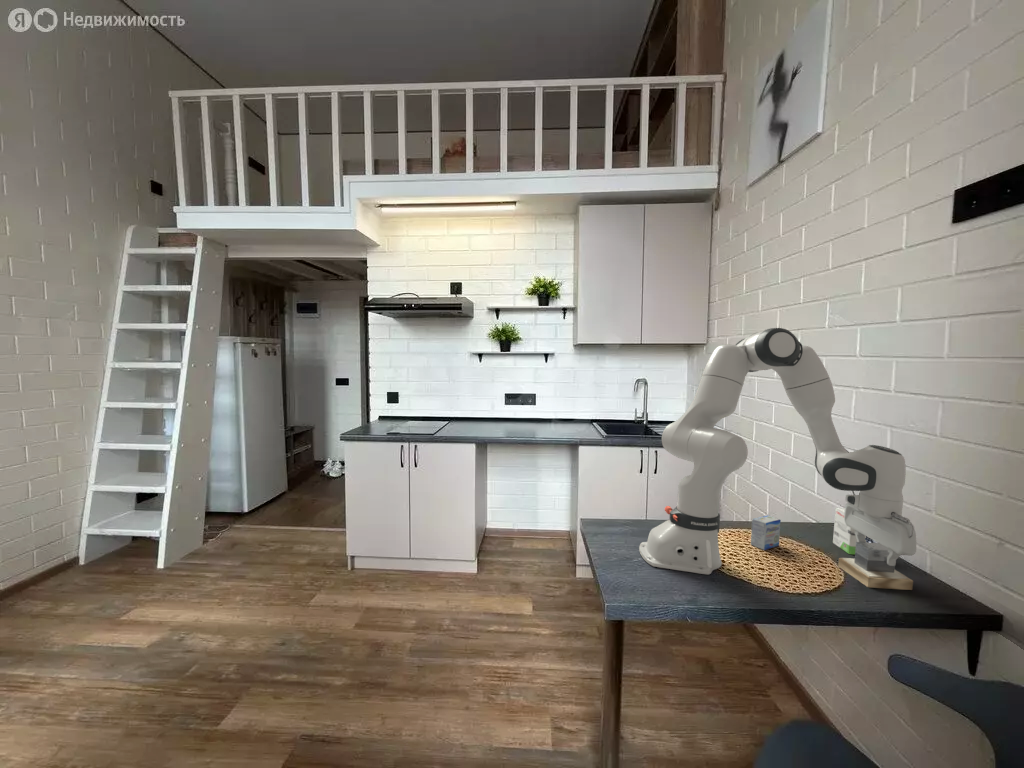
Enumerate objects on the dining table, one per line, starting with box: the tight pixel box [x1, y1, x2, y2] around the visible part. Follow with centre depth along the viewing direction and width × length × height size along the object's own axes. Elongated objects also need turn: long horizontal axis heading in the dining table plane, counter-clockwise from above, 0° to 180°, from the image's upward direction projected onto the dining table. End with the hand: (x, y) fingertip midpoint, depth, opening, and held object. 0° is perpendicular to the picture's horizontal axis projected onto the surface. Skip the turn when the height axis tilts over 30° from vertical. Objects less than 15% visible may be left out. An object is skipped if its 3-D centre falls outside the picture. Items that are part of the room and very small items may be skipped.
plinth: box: [837, 557, 914, 591], centre depth 115 cm, size 11×11×3 cm
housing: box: [854, 542, 896, 573], centre depth 115 cm, size 4×7×6 cm, turn 86°
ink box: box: [832, 507, 866, 556], centre depth 133 cm, size 9×5×12 cm, turn 171°
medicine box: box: [750, 515, 782, 551], centre depth 133 cm, size 8×4×9 cm, turn 117°
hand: (875, 555), depth 115 cm, fingers open, 8 cm apart
